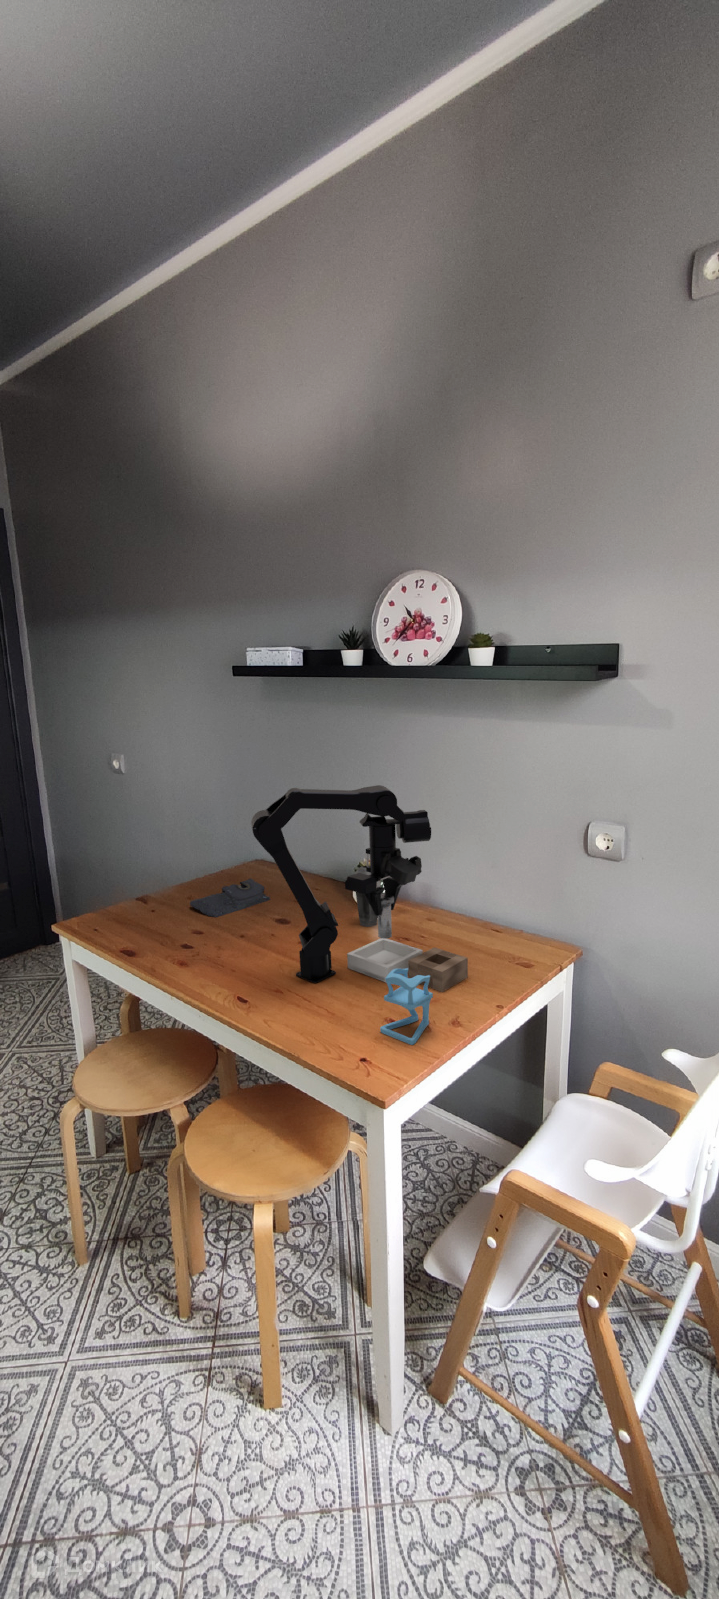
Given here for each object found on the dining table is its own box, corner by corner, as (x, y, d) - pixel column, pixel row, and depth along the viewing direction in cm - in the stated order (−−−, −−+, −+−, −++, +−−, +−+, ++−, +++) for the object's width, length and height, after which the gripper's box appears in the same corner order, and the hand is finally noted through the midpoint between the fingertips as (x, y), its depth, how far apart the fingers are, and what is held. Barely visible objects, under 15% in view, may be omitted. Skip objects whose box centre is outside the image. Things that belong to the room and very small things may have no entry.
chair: (439, 1027, 137) (438, 967, 135) (412, 1045, 131) (410, 983, 129) (407, 1014, 143) (405, 957, 140) (379, 1032, 137) (377, 972, 134)
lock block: (442, 992, 151) (441, 971, 150) (408, 979, 157) (408, 960, 157) (467, 977, 158) (467, 957, 157) (434, 966, 164) (434, 947, 163)
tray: (387, 983, 156) (387, 967, 156) (347, 968, 165) (347, 953, 164) (423, 964, 165) (422, 950, 164) (383, 951, 173) (382, 937, 172)
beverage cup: (349, 926, 189) (346, 851, 186) (362, 916, 196) (359, 844, 192) (374, 930, 186) (372, 854, 182) (387, 920, 192) (384, 847, 188)
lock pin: (385, 941, 160) (384, 901, 158) (371, 936, 163) (369, 897, 161) (398, 935, 163) (398, 896, 161) (384, 930, 166) (383, 892, 164)
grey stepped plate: (182, 908, 209) (181, 892, 208) (244, 889, 224) (243, 874, 224) (213, 921, 199) (212, 904, 198) (276, 899, 214) (275, 884, 213)
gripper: (380, 860, 147) (382, 933, 150) (438, 841, 160) (439, 909, 163) (341, 851, 154) (344, 921, 157) (400, 833, 167) (401, 898, 171)
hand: (384, 912), depth 162 cm, fingers closed on lock pin, 4 cm apart
